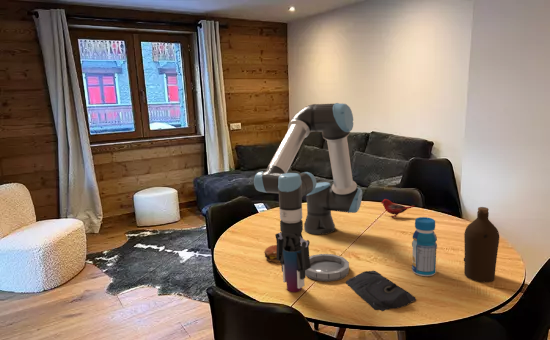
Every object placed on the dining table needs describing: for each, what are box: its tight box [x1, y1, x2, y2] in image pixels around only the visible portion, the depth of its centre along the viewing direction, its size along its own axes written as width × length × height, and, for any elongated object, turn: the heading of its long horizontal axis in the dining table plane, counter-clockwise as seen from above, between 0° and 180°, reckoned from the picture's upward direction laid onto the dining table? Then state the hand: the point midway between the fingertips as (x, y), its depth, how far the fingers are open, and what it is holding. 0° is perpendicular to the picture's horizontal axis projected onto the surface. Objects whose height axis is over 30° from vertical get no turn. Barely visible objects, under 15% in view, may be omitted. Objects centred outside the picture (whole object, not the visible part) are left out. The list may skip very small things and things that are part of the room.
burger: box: [263, 244, 280, 264], centre depth 156 cm, size 10×9×5 cm
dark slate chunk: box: [345, 270, 417, 312], centre depth 125 cm, size 15×22×5 cm
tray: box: [305, 253, 350, 282], centre depth 142 cm, size 17×17×3 cm
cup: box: [283, 246, 303, 293], centre depth 129 cm, size 7×7×15 cm
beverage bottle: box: [411, 216, 438, 277], centre depth 136 cm, size 8×8×20 cm
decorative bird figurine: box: [380, 198, 416, 218], centre depth 199 cm, size 3×18×10 cm, turn 82°
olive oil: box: [463, 206, 500, 283], centre depth 131 cm, size 11×11×25 cm
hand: (293, 283), depth 130 cm, fingers closed on cup, 6 cm apart
